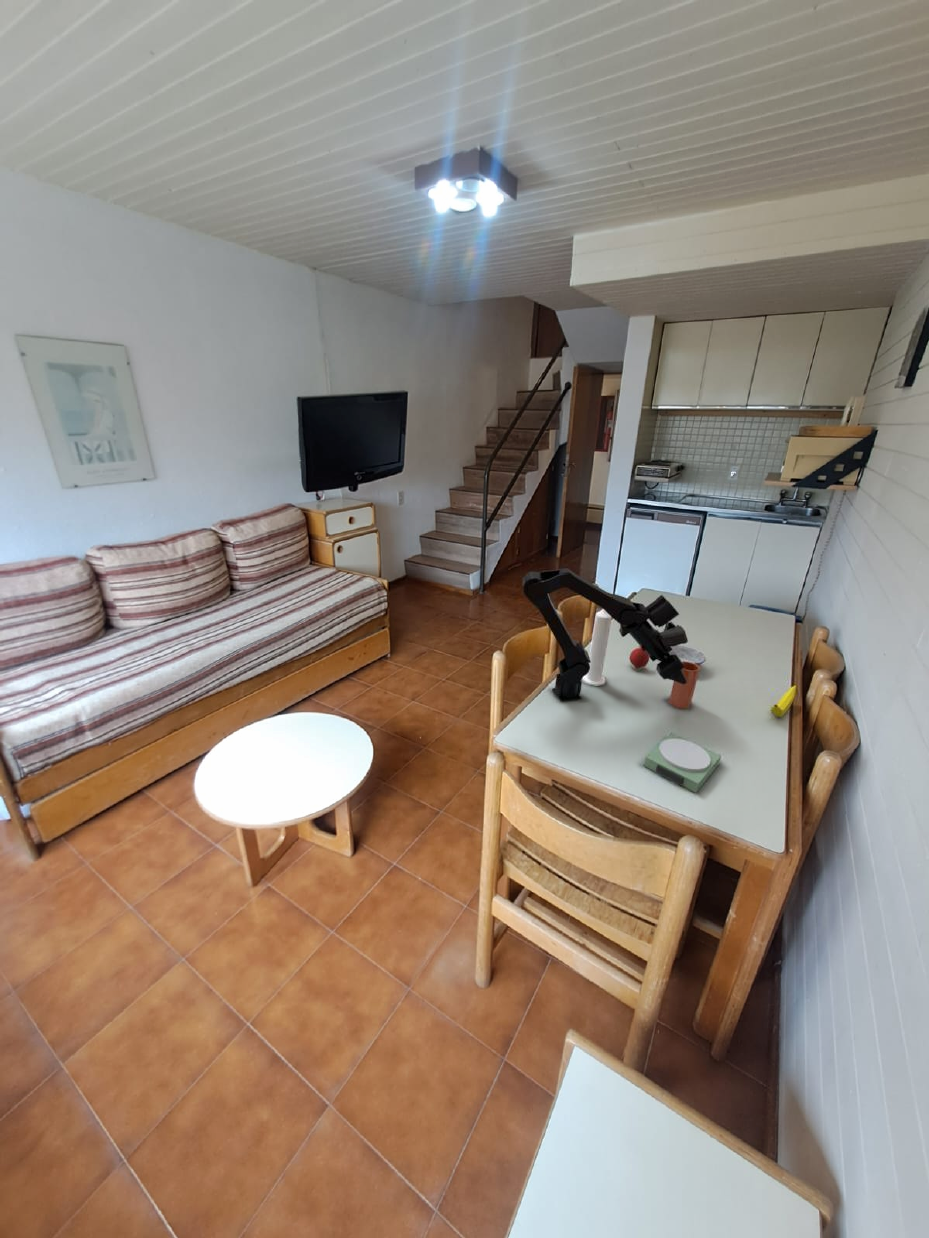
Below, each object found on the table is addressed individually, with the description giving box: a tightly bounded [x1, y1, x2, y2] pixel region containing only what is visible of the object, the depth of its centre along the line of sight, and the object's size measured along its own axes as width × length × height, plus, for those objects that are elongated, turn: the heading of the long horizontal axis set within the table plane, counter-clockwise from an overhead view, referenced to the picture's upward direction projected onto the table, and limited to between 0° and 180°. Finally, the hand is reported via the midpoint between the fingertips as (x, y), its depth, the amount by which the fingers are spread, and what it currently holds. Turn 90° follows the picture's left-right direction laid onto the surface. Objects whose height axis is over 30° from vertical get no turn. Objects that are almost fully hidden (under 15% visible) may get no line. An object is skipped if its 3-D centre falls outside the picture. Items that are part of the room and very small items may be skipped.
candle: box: [581, 608, 613, 687], centre depth 145 cm, size 7×7×25 cm
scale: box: [643, 731, 722, 793], centre depth 114 cm, size 14×12×3 cm
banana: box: [770, 685, 797, 718], centre depth 136 cm, size 3×19×6 cm, turn 134°
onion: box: [629, 645, 650, 670], centre depth 157 cm, size 6×6×8 cm
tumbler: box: [668, 661, 701, 710], centre depth 137 cm, size 6×6×12 cm
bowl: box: [669, 645, 707, 667], centre depth 159 cm, size 13×13×5 cm
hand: (679, 674), depth 136 cm, fingers open, 9 cm apart
